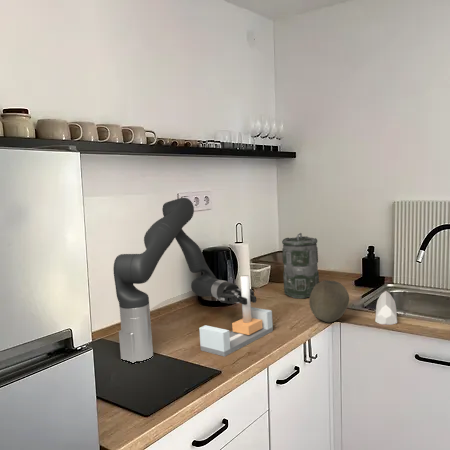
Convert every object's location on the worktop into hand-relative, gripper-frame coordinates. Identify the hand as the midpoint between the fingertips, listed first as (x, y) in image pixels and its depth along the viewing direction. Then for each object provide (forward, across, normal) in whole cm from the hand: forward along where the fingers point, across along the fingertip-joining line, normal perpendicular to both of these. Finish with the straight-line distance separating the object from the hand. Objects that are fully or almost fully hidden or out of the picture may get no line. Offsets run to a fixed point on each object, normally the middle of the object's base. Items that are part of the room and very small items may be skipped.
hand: (250, 300), depth 157 cm
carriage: (-3, 0, +11) cm, 11 cm away
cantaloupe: (+4, +32, +13) cm, 35 cm away
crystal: (+12, +52, +14) cm, 55 cm away
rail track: (-1, -5, +13) cm, 14 cm away
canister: (-32, +49, +13) cm, 60 cm away
